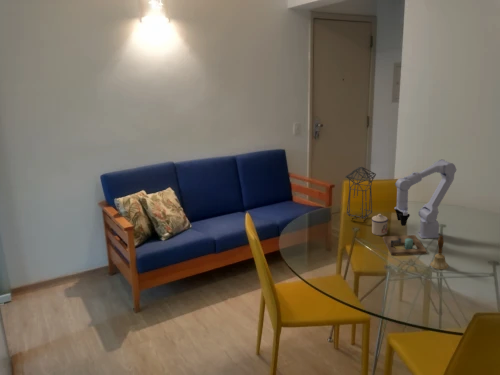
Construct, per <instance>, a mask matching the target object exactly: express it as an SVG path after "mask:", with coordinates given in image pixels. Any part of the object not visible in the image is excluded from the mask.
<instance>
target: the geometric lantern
mask: <svg viewBox="0 0 500 375" xmlns="http://www.w3.org/2000/svg"><path fill="white" fill-rule="evenodd" d="M362 174H363V175H362ZM376 175H377V173H375V172H373V171H371V170H370V169H367V168H366V167H363V166H359V167H356V169H354V170H352V171H351V172H350V173H348V174H347V175H345V178H347V179H348V188H349V190H348V198H347V205H346V206H347V208H346V215H347V216H349V217H350V216H351V217H354V216H356V217H357V218H360V219H364V220H365V219H366V217H367V218H368V217H369V215H371V214H372V213H373V198H372V196H373V195H372V185H373V181H374V179H375V178H376ZM356 176H357V178H355V177H356ZM360 176H361V178H359V177H360ZM363 178H364V179H363ZM355 180H356V182H355ZM366 181H368V184H364V186H365V189H364V190H363V188H362V186H363V184H361V183H364V182H366ZM351 182H352V184H351ZM353 186H354V188H352V187H353ZM356 187H357V189H356ZM359 188H360V189H359ZM351 190H352V191H353V197H354V196H355V194H356V197H357V196H358V197H359V191H360V192H362V196H361V197H362V198H361V201H362V203H361V209H362V210H361V214H362V215H360V216H361V217H360V216H359V215H356V214H355V215H353V214H351V211H350V210H351V208H350V207H351V192H352V191H351ZM368 190H369V198H370V201H369V202H368V203H365V209H364V198H365V200H367V191H368ZM364 196H365V197H364ZM367 204H369V206H367ZM367 207H369V208H368V209H367ZM363 209H364V210H363ZM364 211H365V215H363V214H364ZM367 213H368V214H367ZM356 217H355V218H356Z"/></svg>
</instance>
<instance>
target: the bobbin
mask: <svg viewBox="0 0 500 375" xmlns="http://www.w3.org/2000/svg"><path fill="white" fill-rule="evenodd" d="M404 249H414V245H413V239H410V238H407V239H405V245H404Z"/></svg>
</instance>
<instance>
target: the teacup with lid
mask: <svg viewBox="0 0 500 375" xmlns="http://www.w3.org/2000/svg"><path fill="white" fill-rule="evenodd" d="M388 220H389V219H388V217H387V216H385V215H382V214H381V213H378V214H377V215H374V216H372V217H371V232H372V234H373V235H375V236H385V235H387V234H388Z"/></svg>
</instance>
